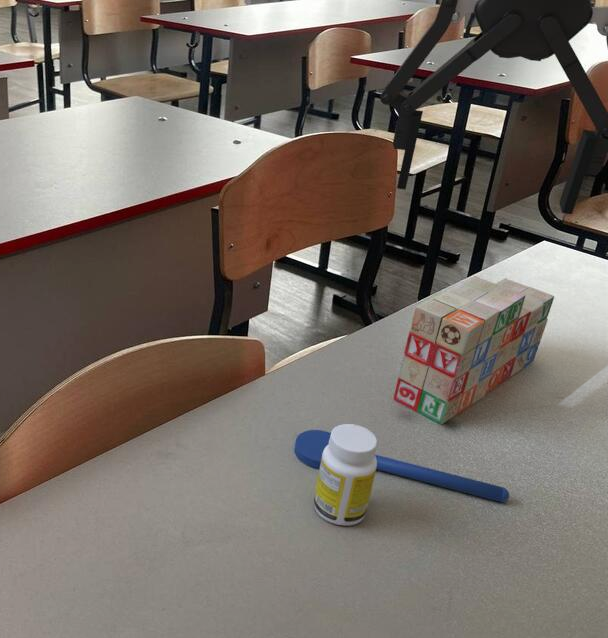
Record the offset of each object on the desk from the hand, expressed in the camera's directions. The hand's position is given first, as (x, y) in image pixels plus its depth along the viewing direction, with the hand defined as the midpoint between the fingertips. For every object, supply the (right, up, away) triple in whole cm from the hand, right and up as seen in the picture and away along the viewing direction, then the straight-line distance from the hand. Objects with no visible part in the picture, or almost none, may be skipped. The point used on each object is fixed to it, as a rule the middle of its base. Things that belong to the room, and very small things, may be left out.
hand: (481, 196), depth 68 cm
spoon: (-5, -26, +7) cm, 28 cm away
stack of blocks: (+9, -18, +23) cm, 30 cm away
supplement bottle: (-12, -29, +3) cm, 31 cm away
